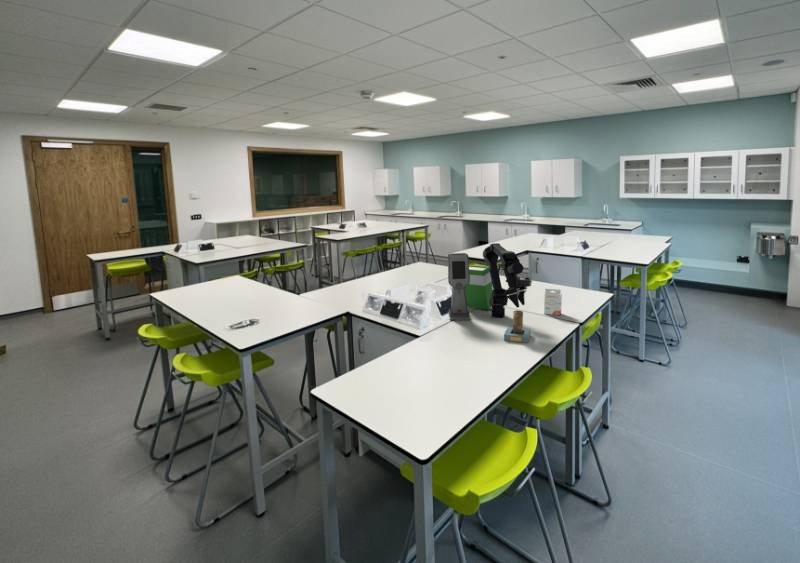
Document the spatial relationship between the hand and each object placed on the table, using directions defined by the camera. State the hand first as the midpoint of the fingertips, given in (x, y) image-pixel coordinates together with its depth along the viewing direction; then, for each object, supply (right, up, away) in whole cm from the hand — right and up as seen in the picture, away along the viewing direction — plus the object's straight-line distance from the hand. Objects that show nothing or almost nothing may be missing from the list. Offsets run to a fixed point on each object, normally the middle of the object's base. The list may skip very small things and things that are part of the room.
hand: (521, 306), depth 217 cm
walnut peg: (-5, -15, -10) cm, 18 cm away
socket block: (-5, -15, -11) cm, 19 cm away
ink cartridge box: (+24, -6, +23) cm, 34 cm away
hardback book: (-14, -2, +41) cm, 43 cm away
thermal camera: (-28, -8, +24) cm, 37 cm away
